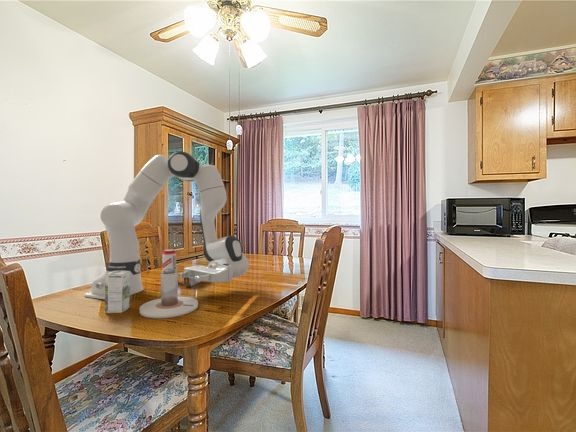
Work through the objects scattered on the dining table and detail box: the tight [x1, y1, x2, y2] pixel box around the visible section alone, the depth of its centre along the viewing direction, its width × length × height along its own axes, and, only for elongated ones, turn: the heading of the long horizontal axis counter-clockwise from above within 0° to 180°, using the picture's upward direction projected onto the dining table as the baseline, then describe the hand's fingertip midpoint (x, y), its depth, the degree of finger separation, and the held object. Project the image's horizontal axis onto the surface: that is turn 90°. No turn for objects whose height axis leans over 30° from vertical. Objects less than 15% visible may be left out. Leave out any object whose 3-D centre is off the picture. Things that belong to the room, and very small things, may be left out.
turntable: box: [139, 295, 199, 319], centre depth 105 cm, size 19×19×2 cm
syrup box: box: [104, 270, 131, 314], centre depth 104 cm, size 6×6×14 cm
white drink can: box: [160, 269, 179, 306], centre depth 105 cm, size 6×6×12 cm
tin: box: [183, 277, 202, 288], centre depth 143 cm, size 15×3×8 cm, turn 169°
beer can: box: [161, 248, 177, 271], centre depth 147 cm, size 6×6×16 cm
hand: (188, 277), depth 112 cm, fingers open, 8 cm apart
